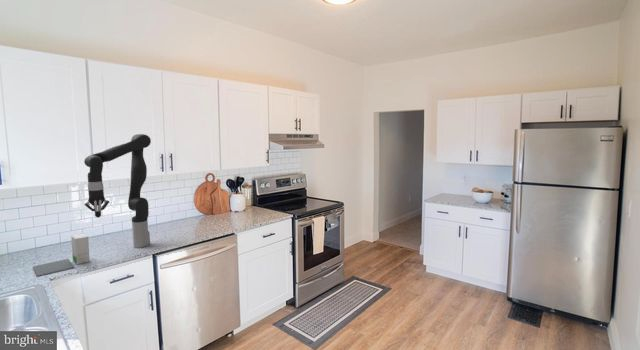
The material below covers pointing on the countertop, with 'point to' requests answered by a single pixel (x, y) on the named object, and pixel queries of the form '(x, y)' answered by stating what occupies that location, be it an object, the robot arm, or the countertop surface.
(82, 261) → the skincare box
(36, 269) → the mat
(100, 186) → the robot arm
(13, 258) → the countertop surface
